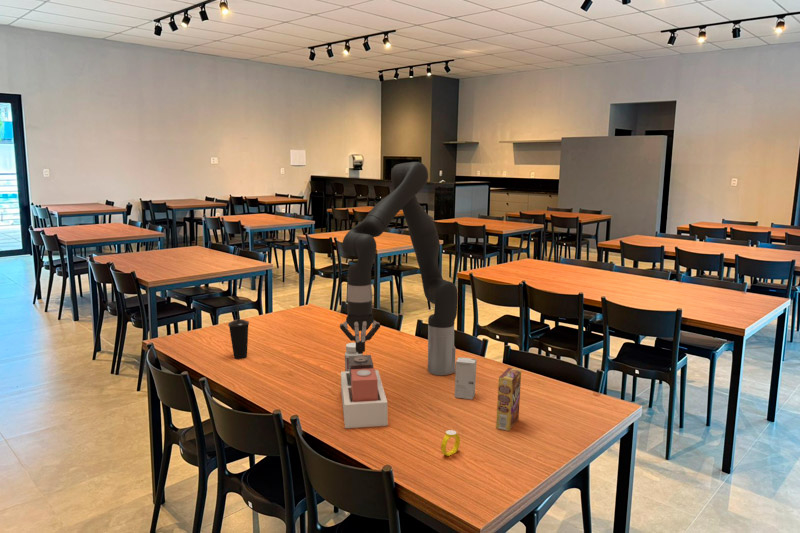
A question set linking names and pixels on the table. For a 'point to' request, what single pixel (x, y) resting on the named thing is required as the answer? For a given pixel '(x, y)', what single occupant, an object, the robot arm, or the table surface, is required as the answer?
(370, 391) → the red button block
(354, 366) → the grey button block
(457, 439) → the watch
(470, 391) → the skincare box
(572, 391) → the table surface
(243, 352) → the drinking cup
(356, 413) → the frame
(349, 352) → the pill bottle
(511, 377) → the candy box
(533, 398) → the table surface
